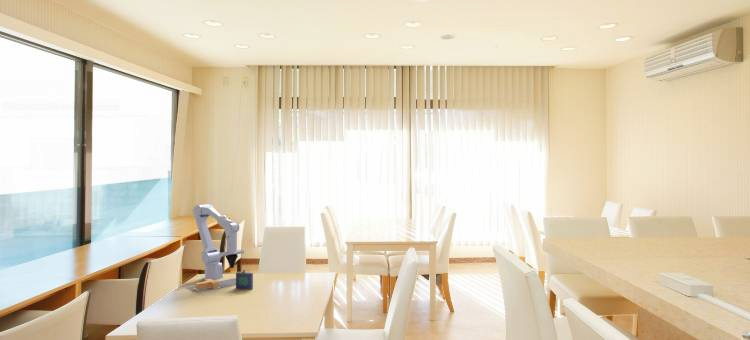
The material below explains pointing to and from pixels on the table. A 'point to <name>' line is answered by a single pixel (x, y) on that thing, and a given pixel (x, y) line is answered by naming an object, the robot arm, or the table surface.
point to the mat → (221, 285)
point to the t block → (207, 284)
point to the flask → (244, 280)
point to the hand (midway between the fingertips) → (231, 267)
